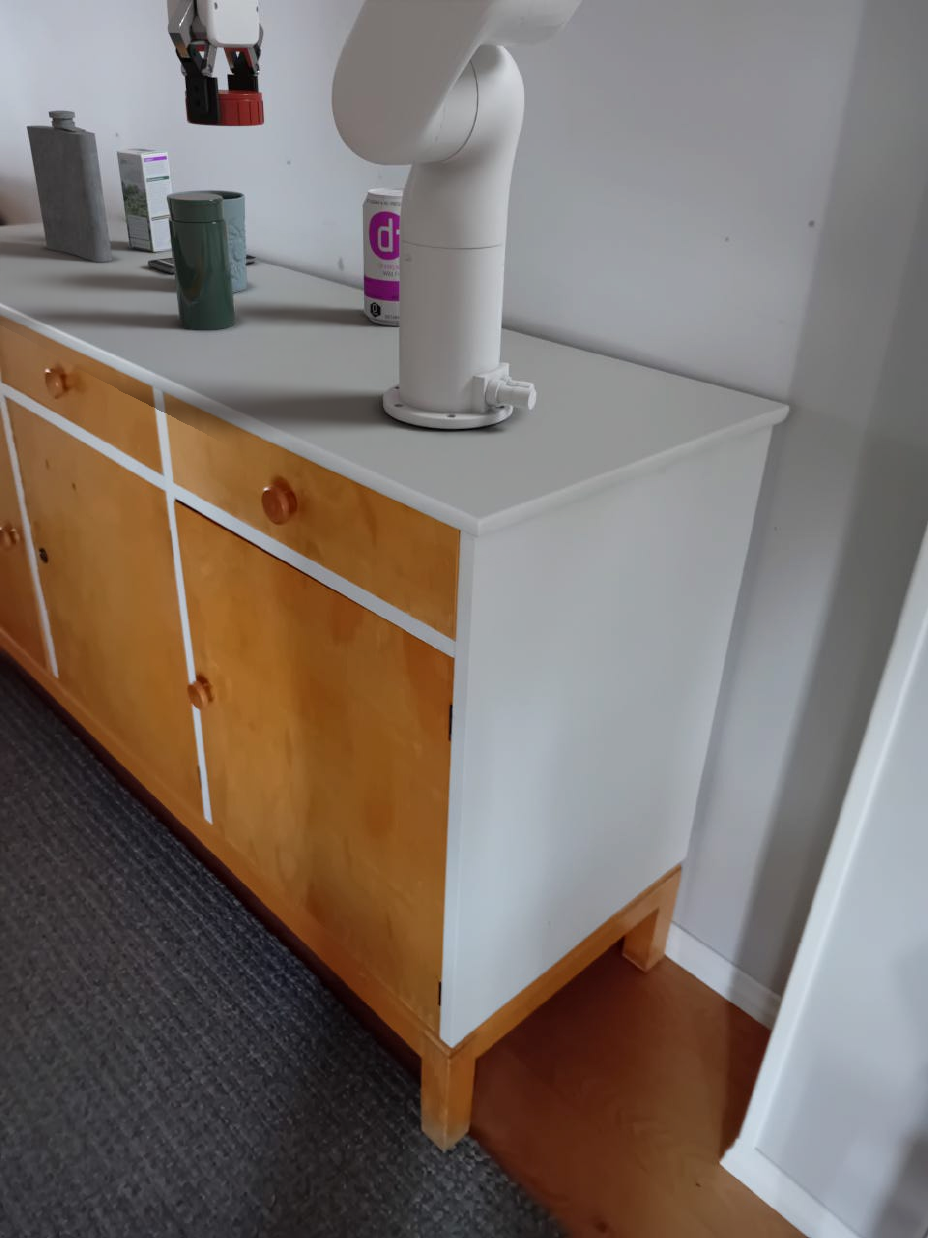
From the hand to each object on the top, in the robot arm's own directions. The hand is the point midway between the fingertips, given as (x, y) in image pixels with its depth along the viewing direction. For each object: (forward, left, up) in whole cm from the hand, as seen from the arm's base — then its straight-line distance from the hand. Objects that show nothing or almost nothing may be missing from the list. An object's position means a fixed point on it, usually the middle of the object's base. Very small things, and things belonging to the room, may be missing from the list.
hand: (225, 119), depth 100 cm
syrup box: (+49, -40, -23) cm, 68 cm away
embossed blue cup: (+23, -23, -23) cm, 41 cm away
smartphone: (+34, -34, -23) cm, 54 cm away
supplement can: (-7, -22, -23) cm, 33 cm away
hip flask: (+55, -30, -23) cm, 67 cm away
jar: (+11, -7, -23) cm, 27 cm away
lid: (0, 0, +2) cm, 2 cm away
